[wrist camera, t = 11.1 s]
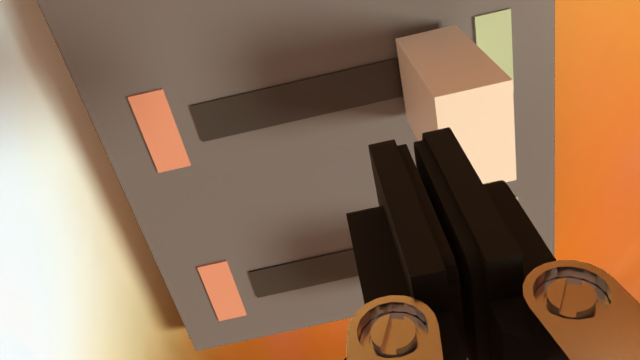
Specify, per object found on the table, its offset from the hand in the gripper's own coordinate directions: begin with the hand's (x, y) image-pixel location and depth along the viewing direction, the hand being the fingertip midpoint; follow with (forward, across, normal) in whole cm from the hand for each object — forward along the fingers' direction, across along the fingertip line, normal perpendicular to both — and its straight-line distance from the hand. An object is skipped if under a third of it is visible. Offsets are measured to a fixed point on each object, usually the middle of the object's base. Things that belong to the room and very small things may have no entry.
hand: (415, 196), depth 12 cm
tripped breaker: (+8, -2, +1) cm, 9 cm away
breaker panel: (+10, +1, +1) cm, 10 cm away
